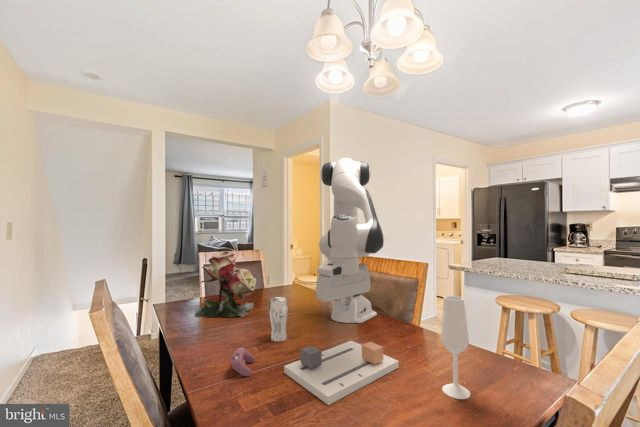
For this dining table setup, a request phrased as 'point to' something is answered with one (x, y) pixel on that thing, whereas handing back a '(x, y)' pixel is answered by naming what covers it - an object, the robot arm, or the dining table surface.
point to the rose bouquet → (227, 287)
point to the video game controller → (242, 361)
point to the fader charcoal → (311, 357)
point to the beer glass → (278, 318)
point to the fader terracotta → (372, 352)
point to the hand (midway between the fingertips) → (345, 310)
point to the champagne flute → (454, 340)
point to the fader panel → (339, 372)
